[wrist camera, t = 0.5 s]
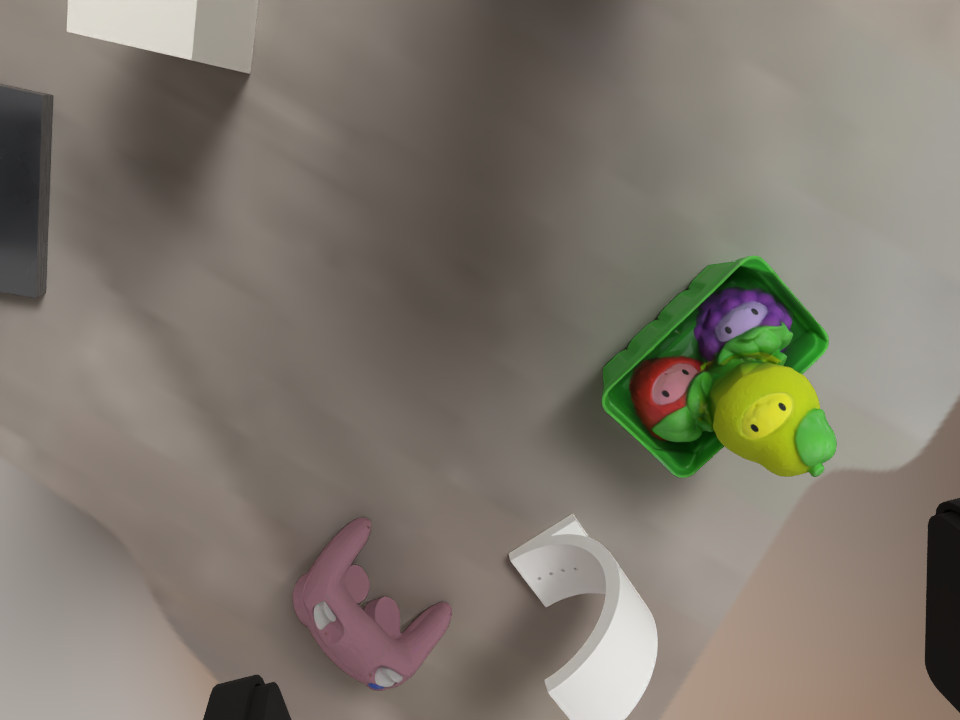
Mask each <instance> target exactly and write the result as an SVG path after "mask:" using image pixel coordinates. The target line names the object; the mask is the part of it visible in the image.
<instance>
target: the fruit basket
mask: <svg viewBox="0 0 960 720" xmlns="http://www.w3.org/2000/svg"><path fill="white" fill-rule="evenodd" d="M828 344H829V339H828V335H827V333H826V331H825V330H824V329H823V328H822V327H821V325H820V324H819V323H818V322H816V320H815V319H814V317H813V316H812V315H811V314H810V313H809V311H808V310H807V309H806V308H805V307H804V306H803V304H802V303H801V302H800V301H799V300H798V299H797V298H796V296H795V295H794V294H793V293H792V292H791V290H790V289H789V288H788V287H787V286H786V285H785V284H784V283H783V281H782V280H781V279H780V278H779V276H778V275H777V274H776V273H775V272H774V270H773V269H772V268H771V267H770V266H769V265H768V264H767V263H766V262H765V261H764V260H763V259H762V258H761V257H758V256H749V257H745V258H741V259H738V260H736V261H735V262H728V263H720V264H713V265H708V266H707V267H706V268H705V269H704V270H703V271H702V272H701V273H700V274H699V275H698V276H697V277H696V278H695V279H694V280H693V281H692V282H691V284H690V286H689V287H688V290H685V291H683V292H682V293H680V294H678V295H677V296H676V297H675V298H674V299H673V300H672V301H671V302H670V303H669V304H668V305H667V306H666V307H665V308H664V309H663V310H662V311H661V313H660V315H659V316H658V319H657V320H654V321H652V322H651V323H649V324H647V325H646V326H645V327H644V328H643V329H642V330H641V331H640V332H639V333H638V334H637V335H636V336H635V337H634V338H633V339H632V340H631V342H630V344H629V345H628V347H627V349H624V350H623V351H621V352H619V353H618V354H617V355H616V356H615V357H614V358H613V359H612V360H610V361H609V362H608V363H607V364H606V365H605V366H604V368H603V384H604V389H603V394H602V406H603V409H604V410H605V412H606V413H607V414H609V415H610V416H611V417H612V418H613V419H614V420H615V421H616V422H618V423H619V424H620V425H621V426H622V427H623V428H624V429H625V430H626V431H627V432H629V433H630V434H631V435H632V436H633V437H634V438H635V439H636V440H638V441H639V443H640V444H641V445H643V446H644V447H645V448H646V449H647V450H648V451H649V452H650V453H651V454H652V455H653V456H654V457H655V458H656V459H657V460H658V461H659V462H660V463H661V464H662V465H663V466H664V467H665V468H666V469H667V470H668V471H669V472H670V473H672V474H673V475H674V476H676V477H680V478H685V477H689V476H691V475H693V474H695V472H697V471H698V470H699V469H700V468H701V467H702V466H703V465H704V464H705V463H706V462H707V461H709V460H710V459H711V458H712V457H713V456H714V455H715V454H716V453H717V452H718V451H719V450H721V449H722V448H723V447H724V446H725V447H726V448H727V449H729V450H730V451H732V452H733V453H735V454H737V455H739V456H740V457H742V458H745V459H747V460H750V461H753V462H756V463H759V464H761V465H762V466H764V467H765V468H766V469H767V470H769V471H770V472H772V473H774V474H776V475H779V476H785V477H790V476H795V475H800V474H804V473H807V472H809V473H810V474H811V476H813V477H816V476H819V475H820V474H821V473H822V472H823V471H824V466H823V465H822V463H824V462H826V461H828V460H829V459H830V458H832V457H833V455H834V454H835V451H836V445H837V442H836V437H835V434H834V432H833V430H832V429H831V427H830V426H829V424H828V422H827V420H826V417H825V413H824V411H823V410H822V409H820V404H819V400H818V397H817V394H816V392H815V390H814V388H813V387H812V385H811V383H810V382H809V381H808V379H807V378H806V377H805V376H804V375H802V374H803V373H804V372H805V371H806V370H807V369H808V368H809V367H810V366H811V365H812V364H814V363H815V362H816V361H817V360H818V359H819V358H820V357H821V356H822V355H823V354H824V353H825V351H826V349H827V348H828Z"/></svg>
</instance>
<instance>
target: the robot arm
mask: <svg viewBox="0 0 960 720" xmlns="http://www.w3.org/2000/svg"><path fill="white" fill-rule="evenodd" d="M926 592H927V593H926V635H925V665H926V669H927V672H928V674H929V677H930V679H931V681H932V682H933V684H934V685H935V687H936V688H937V689H938V690H939V691H940V692H941V693H942V694H943V696H944V697H945V698H946V699H947V700H948V701H949V702H950V703H951V704H952V705H953V706H954V707H955V708H956V709H957V710H958V711H959V712H960V498H958V499H954V500H950V501H946V502H943V503H941V504H939V506H938V507H937V509H936V515H935V516H932V517H931V518H930V520H929V523H928V547H927V591H926ZM203 720H291V718H290V715H289V712H288V710H287V707H286V705H285V702H284V699H283V697H282V694H281V691H280V689H279V687H278V685H277V684H276V683H275V682H272V683H268V684H265V683H264V681H263V679H262V678H261V677H260V676H259V675H253V676H249V677H245V678H241V679H237V680H233V681H229V682H225V683H221V684H217V685H216V686H215V687H214V688H213V690H212V692H211V695H210V698H209V702H208V705H207V708H206V712H205V715H204V719H203Z"/></svg>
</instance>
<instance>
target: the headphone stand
mask: <svg viewBox="0 0 960 720" xmlns="http://www.w3.org/2000/svg"><path fill="white" fill-rule="evenodd" d="M508 554H509V558H510V561H511V562H512V564H513V565H514V566H515V568H516V569H517V570H518V572H519V573H520V574H521V575H522V577H523V578H524V579H525V581H526V582H527V583H528V585H529V586H530V587H531V589H532V590H533V591H534V593H535V594H536V595H537V596H538V598H539V599H540V600H541V602H542V603H543V604H544V606H545V607H548V606H550V605H552V604H553V603H555V602H558V601H560V600H562V599H565V598H568V597H571V596H575V595H579V594H585V593H601V594H606V596H605V602H604V606H603V610H602V613H601V615H600V618H599V620H598V622H597V624H596V626H595V628H594V630H593V632H592V633H591V635H590V636H589V638H588V640H587V641H586V642H585V644H584V645H583V646H582V647H581V649H580V650H579V651H578V652H577V653H576V654H575V655H574V657H573V658H572V659H571V660H570V661H568V662H567V663H566V664H565V665H564V666H563V667H562V668H561V669H559V670H558V671H557V672H555V673H554V674H553V675H551V676H550V677H548V678H547V679H545V680H544V681H545V684H546V688H547V691H548V693H549V694H550V696H551V697H552V698H553V699H554V701H555V702H556V703H557V704H558V706H559V707H560V708H561V709H562V710H563V712H564V713H565V714H566V715H567V717H568V718H569V719H570V720H625V718H626V717H627V716H628V715H629V714H630V713H631V711H632V710H633V709H634V707H635V706H636V705H637V703H638V701H639V700H640V698H641V697H642V695H643V693H644V691H645V689H646V687H647V685H648V683H649V681H650V678H651V676H652V673H653V669H654V666H655V662H656V657H657V648H658V637H657V629H656V625H655V621H654V618H653V616H652V614H651V612H650V610H649V608H648V607H647V605H646V604H645V602H644V601H643V599H642V598H641V596H640V595H639V594H638V592H637V591H636V589H635V588H634V586H633V585H632V583H631V582H630V581H629V579H628V578H627V576H626V575H625V573H624V572H623V570H622V569H621V567H620V566H619V565H618V563H617V562H616V560H615V559H614V557H613V556H612V554H611V553H610V552H609V551H608V550H607V548H606V547H604V546H603V545H602V544H601V543H599V542H597V541H596V540H594V539H591V538H590V537H589V536H588V534H587V533H586V532H585V530H584V529H583V527H582V526H581V524H580V523H579V521H578V520H577V519H576V517H575V516H574V514H571V515H569V516H568V517H566V518H564V519H563V520H561V521H560V522H558V523H556V524H555V525H553V526H552V527H550V528H548V529H547V530H545V531H544V532H542V533H540V534H539V535H537V536H536V537H534V538H532V539H531V540H529V541H527V542H526V543H524V544H523V545H521V546H519V547H518V548H516V549H515V550H513V551H511V552H510V553H508Z"/></svg>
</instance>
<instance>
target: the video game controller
mask: <svg viewBox="0 0 960 720" xmlns="http://www.w3.org/2000/svg"><path fill="white" fill-rule="evenodd" d="M370 531H371V521H370V520H369V519H368V518H358V519H355V520H354V521H352V522H350V523H349V524H348V525H346V526H345V527H344V528H343V529H342V530H341V531H340V532H339V533H338V534H337V535H336V536H335V537H334V538H333V539H332V540H331V541H330V542H329V543H328V544H327V546H326V547H325V548H324V549H323V551H322V552H321V554H320V555H319V556H318V558H317V559H316V561H315V562H314V564H313V565H312V566H311V568H310V569H309V571H308V572H307V573H306V574H304V575H302V576H301V577H300V578H299V580H298V581H297V583H296V585H295V587H294V590H293V605H294V609H295V612H296V615H297V617H298V618H299V620H300V621H301V622H302V623H303V624H304V625H305V626H306V627H308V628H309V630H310V632H311V634H312V636H313V637H314V639H315V640H316V642H317V643H318V645H319V646H320V648H321V649H322V650H323V651H324V652H325V654H326V655H327V656H328V657H329V658H330V659H331V660H332V661H333V662H334V663H335V664H336V665H337V666H338V667H339V668H340V669H342V670H343V671H344V672H345V673H346V674H348V675H350V676H351V677H353V678H354V679H356V680H358V681H359V682H362V683H364V684H366V685H367V686H368V687H369V688H371V689H373V690H376V691H381V690H385V689H389V688H393V687H396V686H398V685H401V684H402V683H403V682H405V681H406V680H408V679H409V678H410V677H412V676H413V674H414V673H415V672H416V671H417V670H418V668H419V667H420V666H421V664H422V663H423V661H424V660H425V659H426V657H427V656H428V655H429V653H430V652H431V651H432V649H433V648H434V646H435V645H436V644H437V642H438V641H439V640H440V638H441V637H442V636H443V634H444V633H445V631H446V630H447V628H448V626H449V623H450V620H451V616H452V609H451V606H450V605H449V604H448V603H445V602H440V603H438V604H435V605H433V606H431V607H430V608H428V609H427V610H425V611H424V612H423V613H422V614H421V615H420V616H418V617H417V618H416V619H415V620H414V621H413V622H412V623H411V624H410V625H409V626H408V627H407V628H406V629H405V630H404V631H403V632H402V633H401V632H400V610H399V607H398V605H397V604H396V602H395V601H394V600H393V599H392V598H389V597H382V598H378V599H375V600H372V601H370V602H368V603H367V605H366V606H365V609H364V610H363V609H362V608H361V607H360V606H359V605H358V604H357V603H359V602H361V601H363V600H364V599H365V598H366V596H367V594H368V592H369V587H370V584H369V579H368V576H367V574H366V573H365V571H364V570H363V569H362V568H361V567H360V566H359V565H351V564H352V562H353V560H354V559H355V558H356V556H357V555H358V553H359V552H360V551H361V549H362V548H363V546H364V545H365V543H366V542H367V540H368V537H369V535H370ZM350 565H351V566H350Z"/></svg>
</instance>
